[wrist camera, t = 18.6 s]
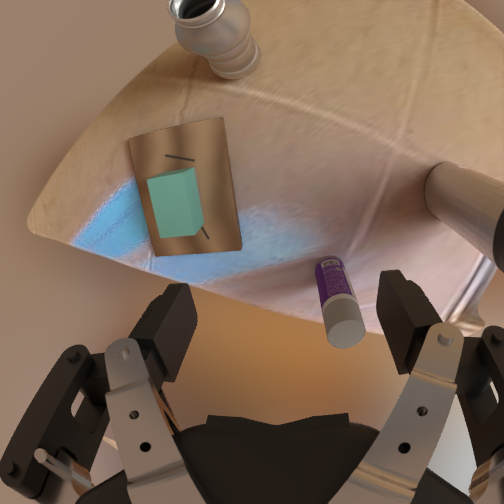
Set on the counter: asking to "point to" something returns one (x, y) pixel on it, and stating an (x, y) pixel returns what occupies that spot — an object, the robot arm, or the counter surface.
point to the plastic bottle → (217, 34)
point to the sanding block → (176, 202)
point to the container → (338, 304)
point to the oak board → (209, 179)
